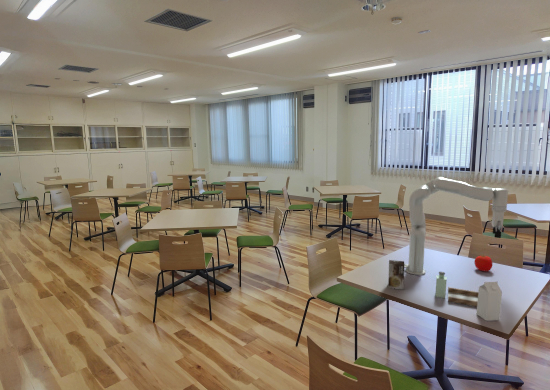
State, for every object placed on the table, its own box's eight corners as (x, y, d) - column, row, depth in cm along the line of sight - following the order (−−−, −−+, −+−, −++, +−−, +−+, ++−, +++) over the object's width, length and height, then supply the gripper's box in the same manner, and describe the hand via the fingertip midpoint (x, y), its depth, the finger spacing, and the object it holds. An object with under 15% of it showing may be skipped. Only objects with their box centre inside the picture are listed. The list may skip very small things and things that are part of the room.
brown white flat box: (448, 301, 187) (448, 295, 186) (447, 291, 200) (448, 285, 199) (490, 309, 178) (491, 302, 177) (487, 298, 191) (488, 291, 190)
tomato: (494, 271, 231) (496, 256, 230) (487, 274, 226) (489, 259, 224) (478, 266, 240) (479, 252, 238) (471, 269, 234) (472, 255, 233)
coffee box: (403, 285, 209) (404, 261, 206) (403, 290, 203) (404, 264, 200) (388, 283, 212) (389, 259, 209) (387, 288, 206) (389, 263, 203)
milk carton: (476, 314, 174) (479, 279, 171) (489, 313, 174) (492, 278, 171) (486, 321, 167) (489, 285, 164) (499, 320, 167) (502, 284, 164)
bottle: (435, 296, 194) (436, 273, 192) (435, 292, 199) (437, 270, 197) (445, 298, 192) (446, 275, 190) (445, 294, 196) (446, 271, 194)
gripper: (490, 205, 213) (487, 231, 216) (493, 210, 198) (491, 238, 201) (504, 206, 210) (501, 233, 212) (508, 211, 195) (506, 239, 197)
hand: (496, 235), depth 206 cm, fingers open, 9 cm apart
